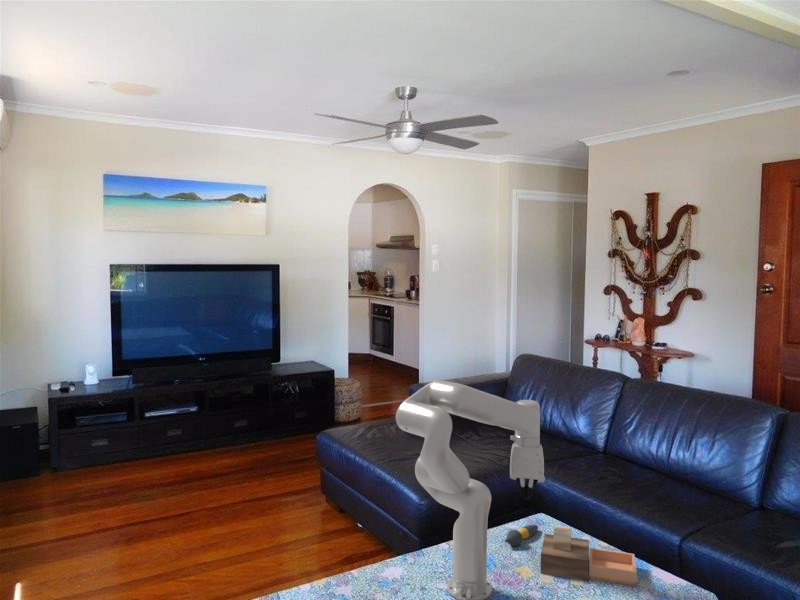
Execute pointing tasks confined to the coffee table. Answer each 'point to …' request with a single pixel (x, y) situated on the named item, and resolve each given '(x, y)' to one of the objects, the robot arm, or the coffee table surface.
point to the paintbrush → (520, 534)
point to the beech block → (562, 538)
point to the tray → (612, 567)
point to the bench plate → (565, 559)
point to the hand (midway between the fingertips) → (527, 498)
